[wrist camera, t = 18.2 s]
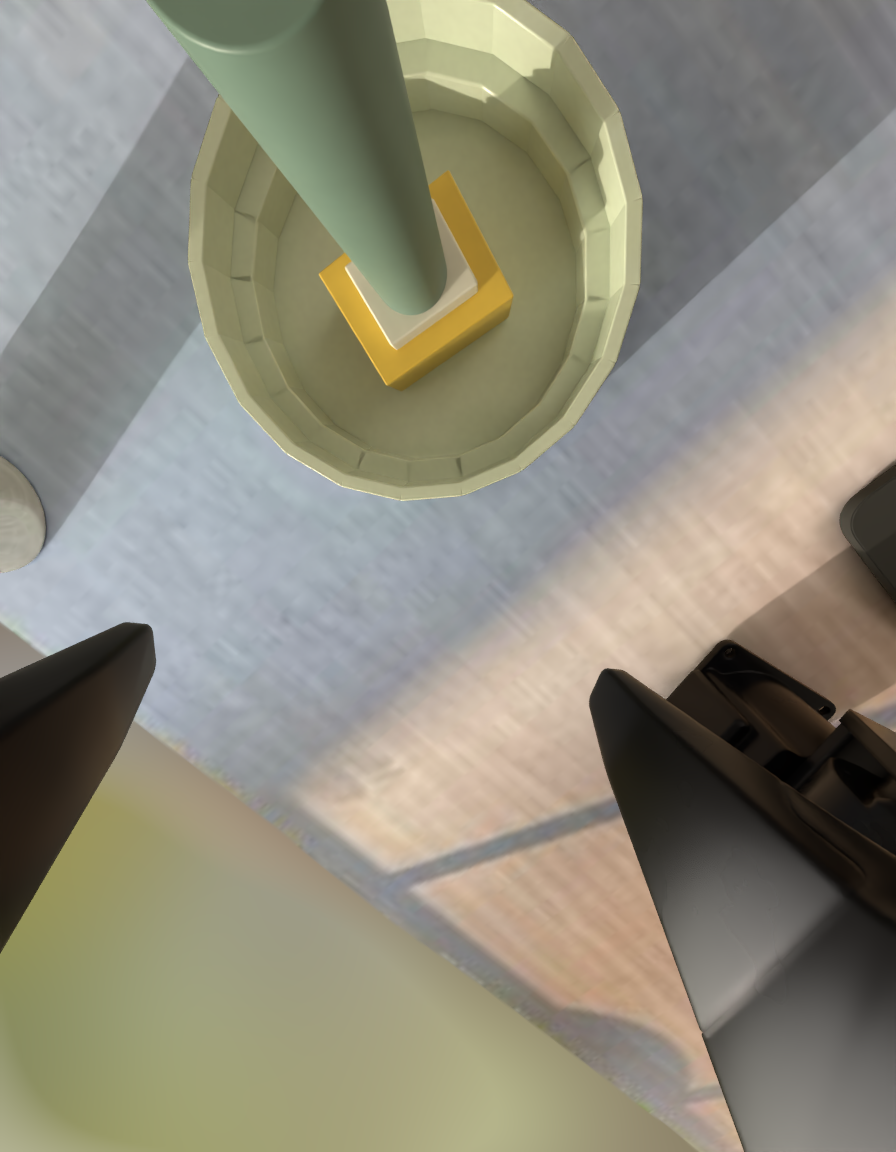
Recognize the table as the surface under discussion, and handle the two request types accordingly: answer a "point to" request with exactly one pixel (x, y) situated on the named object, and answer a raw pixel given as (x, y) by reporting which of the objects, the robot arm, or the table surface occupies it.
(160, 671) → the table surface
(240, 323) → the bowl
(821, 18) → the table surface
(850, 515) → the phone
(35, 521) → the beer glass
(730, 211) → the table surface
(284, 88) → the sponge wand
